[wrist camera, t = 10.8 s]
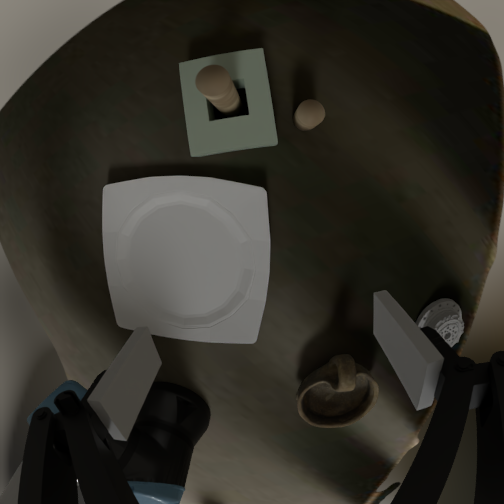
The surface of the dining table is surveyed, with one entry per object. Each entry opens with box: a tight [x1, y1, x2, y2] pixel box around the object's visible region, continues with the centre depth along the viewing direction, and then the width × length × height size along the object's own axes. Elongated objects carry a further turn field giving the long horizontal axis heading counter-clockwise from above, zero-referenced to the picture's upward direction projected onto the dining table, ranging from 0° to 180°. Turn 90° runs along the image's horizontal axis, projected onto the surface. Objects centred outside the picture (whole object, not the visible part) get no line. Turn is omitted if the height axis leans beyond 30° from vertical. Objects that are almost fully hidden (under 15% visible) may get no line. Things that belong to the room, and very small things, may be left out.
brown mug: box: [296, 354, 379, 428], centre depth 41 cm, size 14×18×10 cm
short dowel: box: [293, 99, 325, 131], centre depth 31 cm, size 3×3×6 cm
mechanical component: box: [415, 298, 464, 347], centre depth 40 cm, size 10×4×10 cm
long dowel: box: [195, 65, 243, 117], centre depth 28 cm, size 3×3×13 cm
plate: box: [102, 175, 270, 344], centre depth 40 cm, size 24×24×3 cm
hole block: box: [179, 48, 278, 157], centre depth 32 cm, size 10×12×4 cm
